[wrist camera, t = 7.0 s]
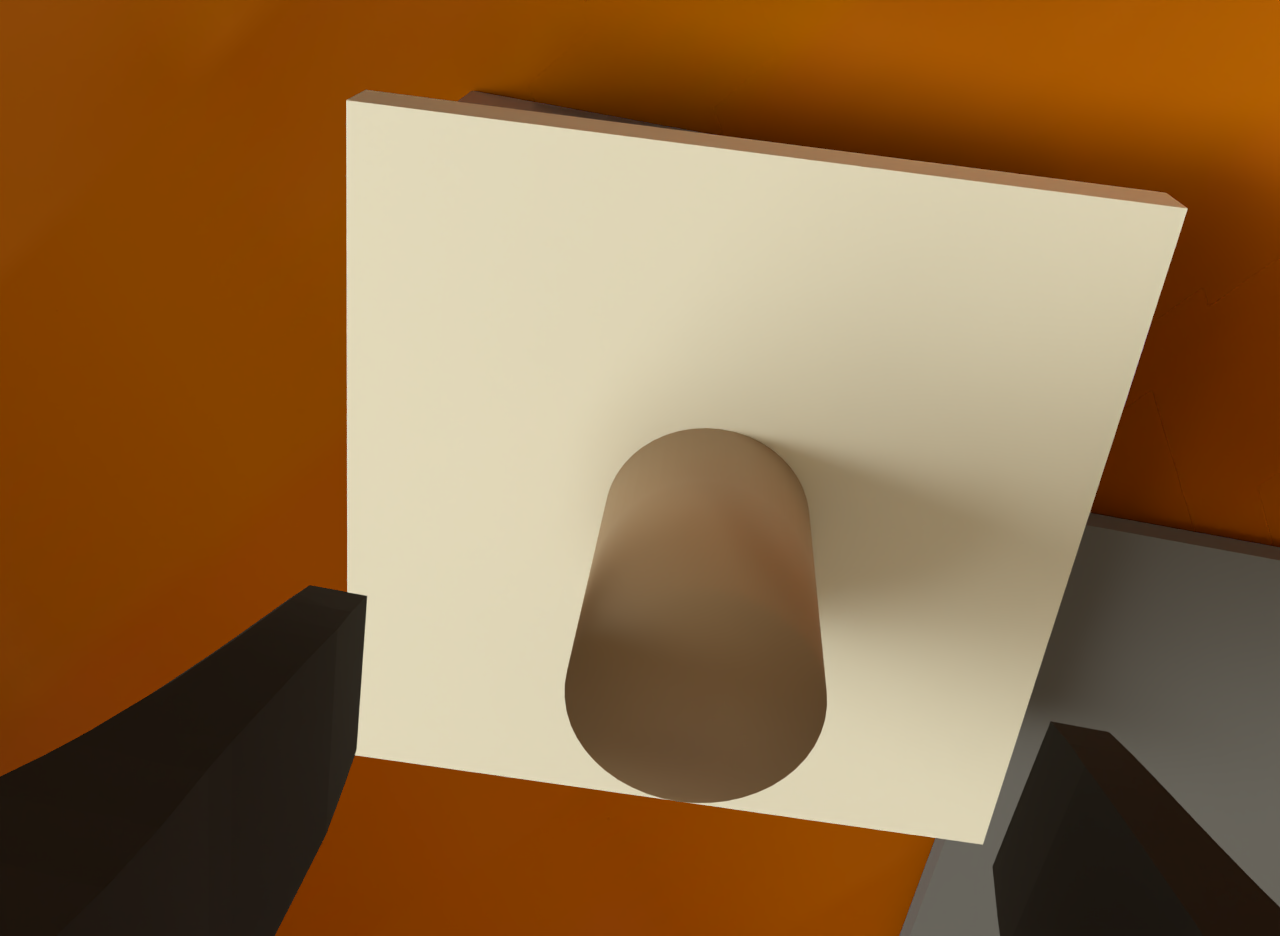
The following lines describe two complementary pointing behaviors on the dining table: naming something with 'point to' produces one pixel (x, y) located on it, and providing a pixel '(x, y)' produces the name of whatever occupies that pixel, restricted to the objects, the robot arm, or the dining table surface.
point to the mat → (1148, 700)
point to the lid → (722, 454)
